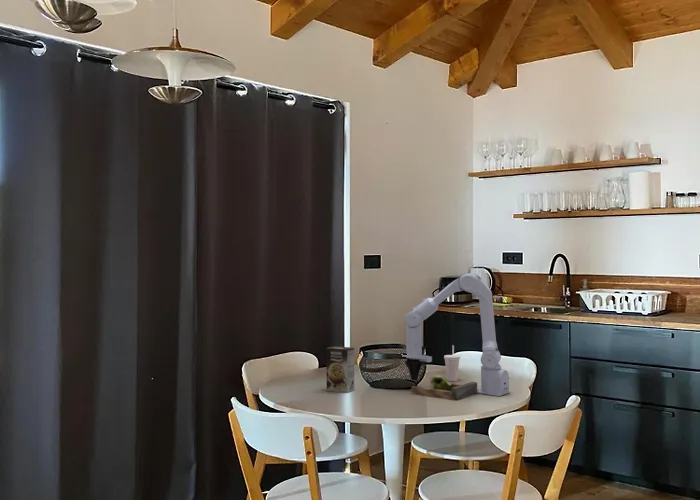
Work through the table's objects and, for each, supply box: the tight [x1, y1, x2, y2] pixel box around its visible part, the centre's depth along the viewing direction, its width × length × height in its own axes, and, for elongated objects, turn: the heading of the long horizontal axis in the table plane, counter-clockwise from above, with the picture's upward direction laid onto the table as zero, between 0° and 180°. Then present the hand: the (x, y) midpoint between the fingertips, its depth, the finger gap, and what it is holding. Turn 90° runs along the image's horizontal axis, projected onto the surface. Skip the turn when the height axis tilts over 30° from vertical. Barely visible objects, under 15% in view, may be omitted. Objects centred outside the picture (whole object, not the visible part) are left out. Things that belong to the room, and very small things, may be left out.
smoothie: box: [443, 344, 461, 382], centre depth 272 cm, size 6×6×14 cm
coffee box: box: [325, 345, 356, 394], centre depth 255 cm, size 9×6×16 cm
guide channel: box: [411, 381, 478, 401], centre depth 247 cm, size 19×14×4 cm
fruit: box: [429, 374, 452, 391], centre depth 249 cm, size 9×9×8 cm
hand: (414, 379), depth 255 cm, fingers closed
